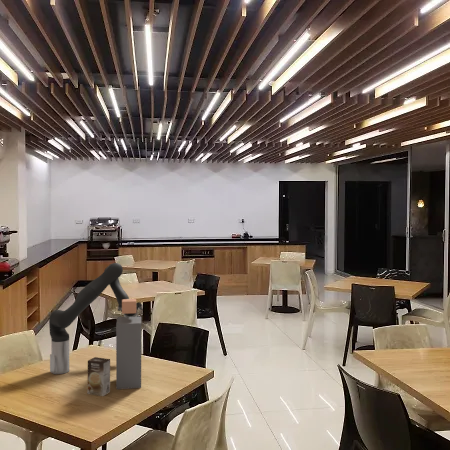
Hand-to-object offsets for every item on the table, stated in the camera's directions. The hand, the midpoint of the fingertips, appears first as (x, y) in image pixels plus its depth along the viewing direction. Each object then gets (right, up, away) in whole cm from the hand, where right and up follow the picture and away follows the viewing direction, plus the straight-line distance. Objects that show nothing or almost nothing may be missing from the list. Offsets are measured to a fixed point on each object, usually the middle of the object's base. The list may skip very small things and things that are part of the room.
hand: (129, 301), depth 254 cm
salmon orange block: (+1, -3, -4) cm, 5 cm away
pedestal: (+2, -39, -11) cm, 41 cm away
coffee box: (-10, -40, -25) cm, 48 cm away
